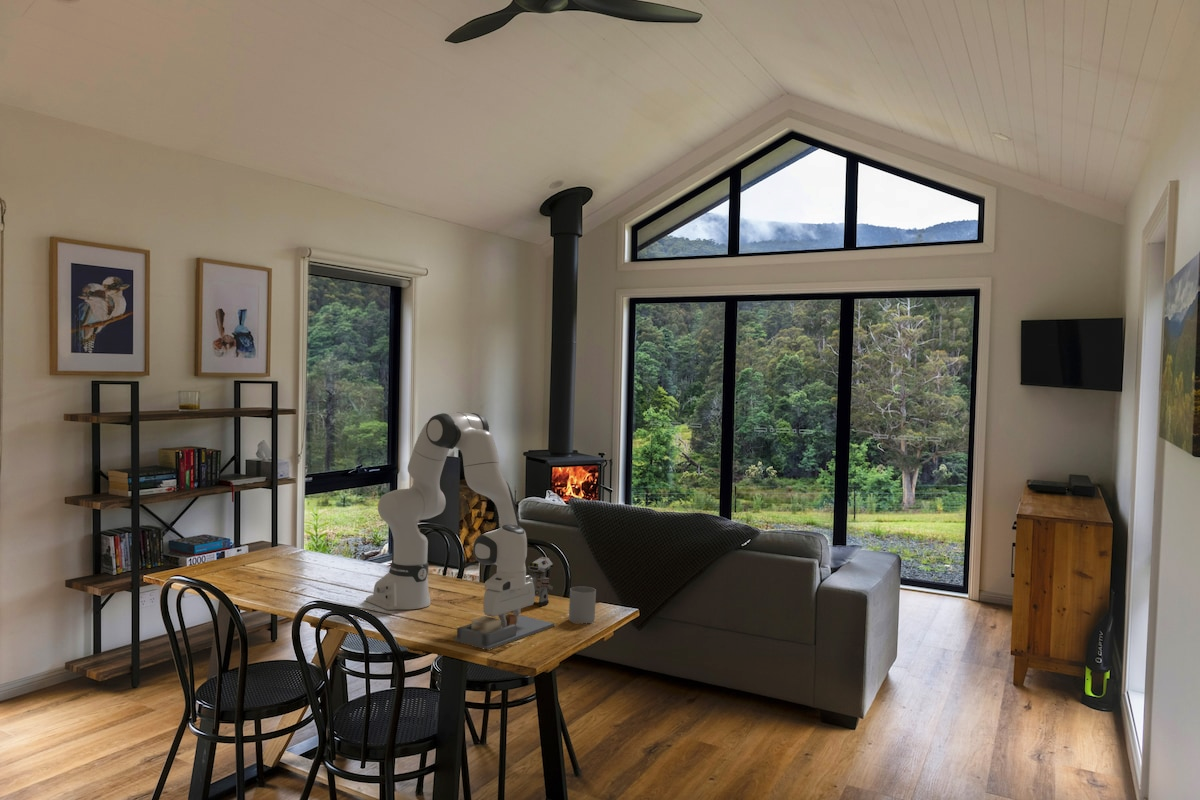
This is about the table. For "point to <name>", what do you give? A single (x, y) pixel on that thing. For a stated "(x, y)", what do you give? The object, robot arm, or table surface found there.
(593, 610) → the cup
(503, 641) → the grey slider tray
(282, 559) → the table surface
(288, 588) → the table surface
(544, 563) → the figurine
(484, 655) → the table surface
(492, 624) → the block
